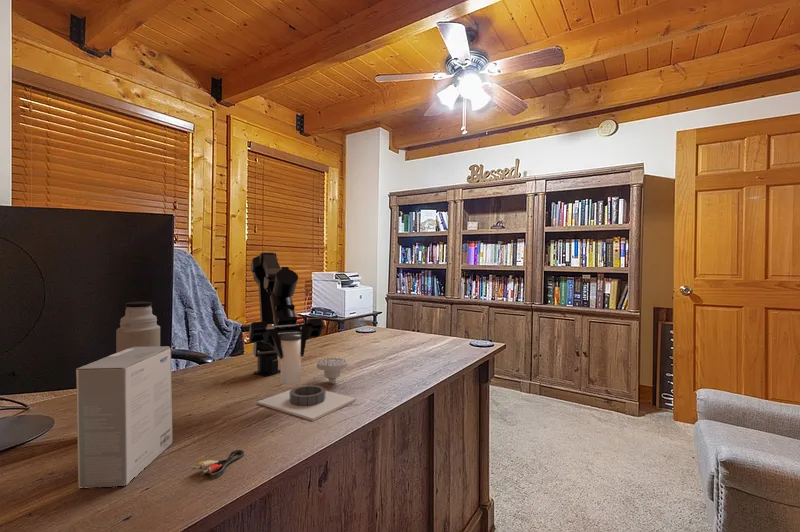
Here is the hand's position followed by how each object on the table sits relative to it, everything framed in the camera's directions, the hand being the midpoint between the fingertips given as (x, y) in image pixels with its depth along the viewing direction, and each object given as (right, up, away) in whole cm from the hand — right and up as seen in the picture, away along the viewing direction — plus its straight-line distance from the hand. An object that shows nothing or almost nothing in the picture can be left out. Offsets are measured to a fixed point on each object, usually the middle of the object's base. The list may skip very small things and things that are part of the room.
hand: (292, 356), depth 98 cm
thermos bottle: (-30, -13, -13) cm, 35 cm away
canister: (-1, -7, +1) cm, 7 cm away
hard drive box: (-22, -13, -28) cm, 38 cm away
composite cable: (-4, -14, -28) cm, 32 cm away
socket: (+3, -13, +4) cm, 14 cm away
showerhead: (+6, -13, +21) cm, 25 cm away
